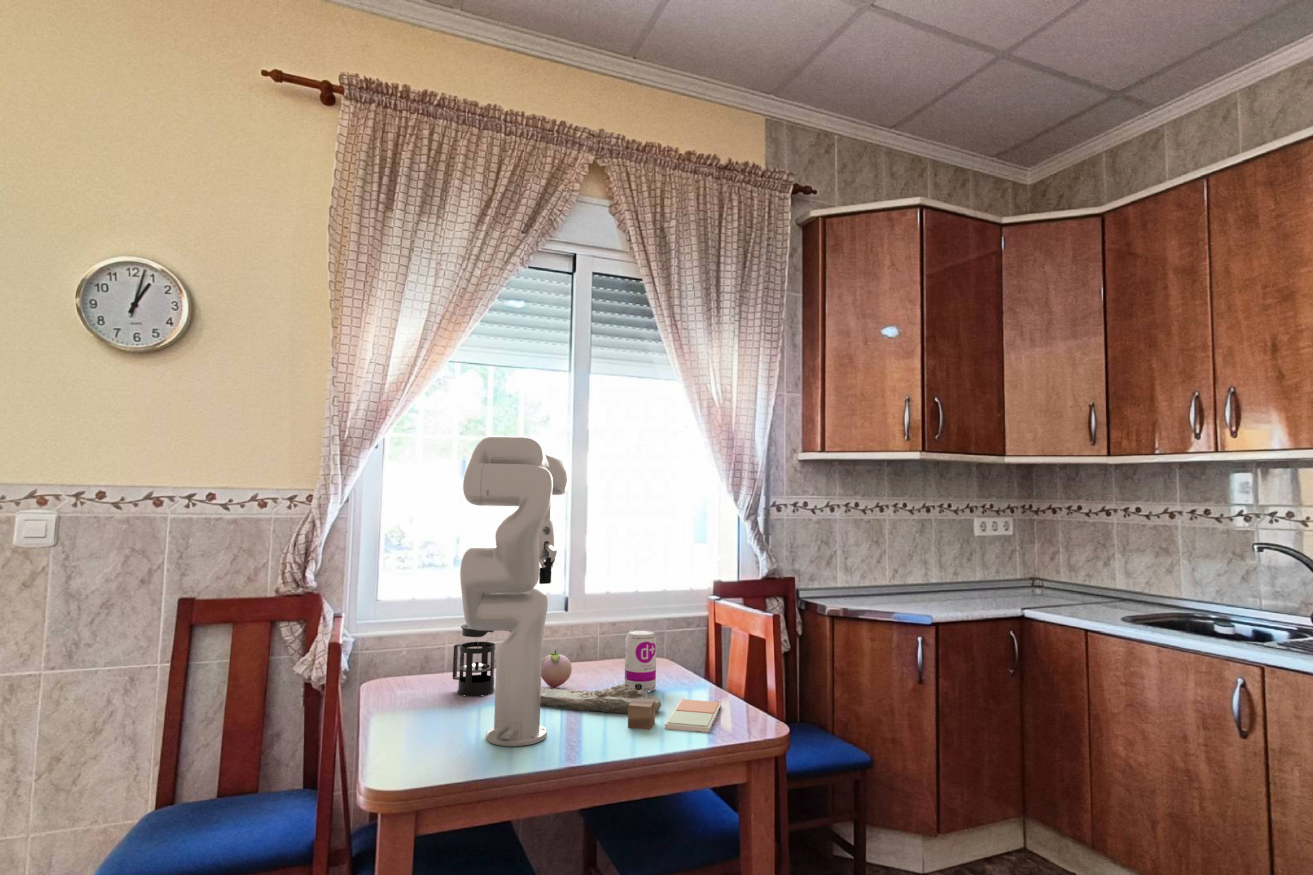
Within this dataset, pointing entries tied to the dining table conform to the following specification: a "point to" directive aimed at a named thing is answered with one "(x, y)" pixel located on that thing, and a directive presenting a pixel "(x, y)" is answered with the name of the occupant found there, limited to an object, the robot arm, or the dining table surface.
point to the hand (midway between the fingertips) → (534, 582)
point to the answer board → (693, 715)
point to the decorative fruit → (555, 669)
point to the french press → (474, 665)
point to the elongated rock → (596, 699)
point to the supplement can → (640, 660)
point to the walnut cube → (641, 714)
